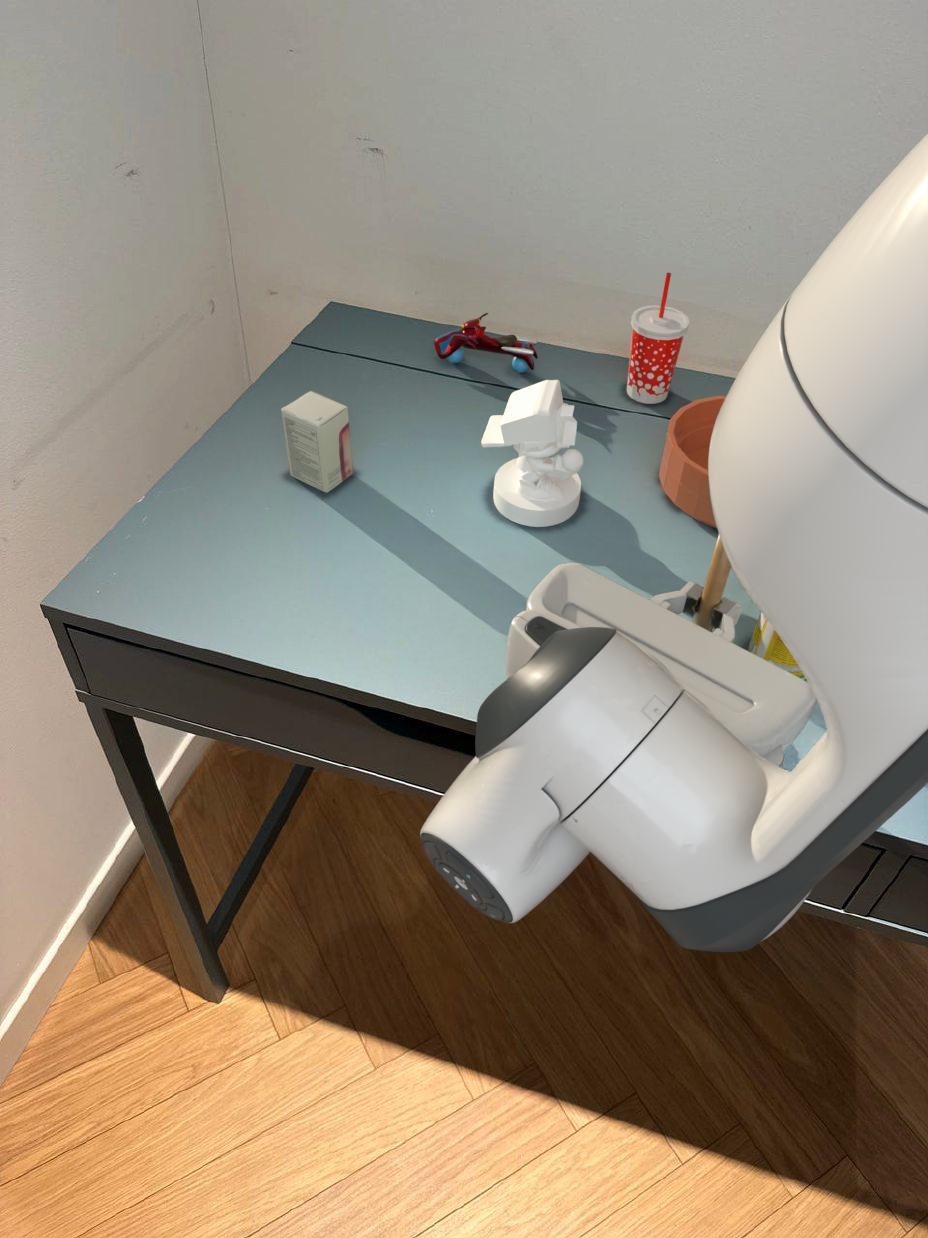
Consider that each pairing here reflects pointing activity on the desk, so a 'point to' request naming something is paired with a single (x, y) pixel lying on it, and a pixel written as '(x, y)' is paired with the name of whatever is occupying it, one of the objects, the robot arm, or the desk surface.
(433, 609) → the desk surface
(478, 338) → the hoverbike
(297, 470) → the small box
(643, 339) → the beverage cup
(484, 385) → the desk surface
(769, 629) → the supplement bottle
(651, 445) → the desk surface
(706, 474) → the bowl
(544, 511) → the character figurine
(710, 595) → the wooden post stand
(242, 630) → the desk surface
